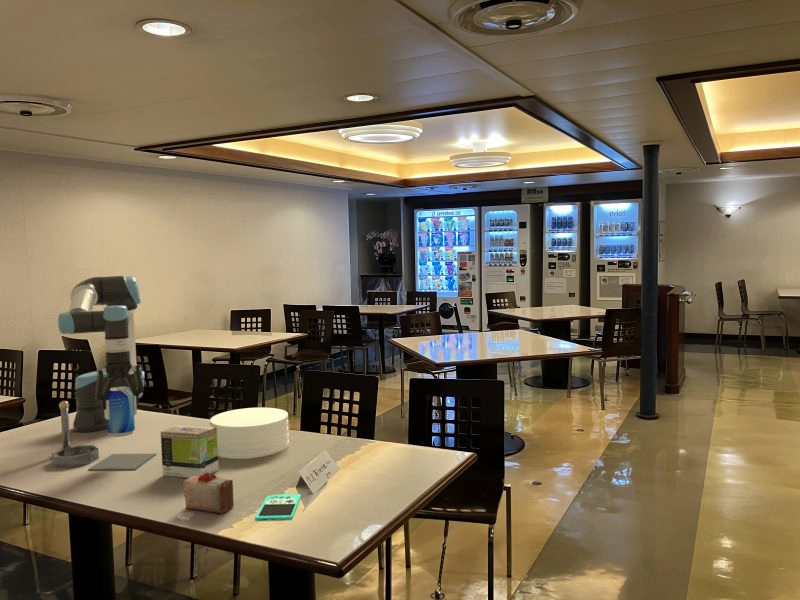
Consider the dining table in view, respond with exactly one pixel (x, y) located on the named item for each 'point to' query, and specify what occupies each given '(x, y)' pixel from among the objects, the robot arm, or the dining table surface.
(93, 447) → the ring stand
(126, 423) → the beer can
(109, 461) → the rubber mat
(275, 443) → the plate stack
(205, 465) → the tea box
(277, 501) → the handheld game console
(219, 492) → the food item
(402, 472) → the dining table surface
